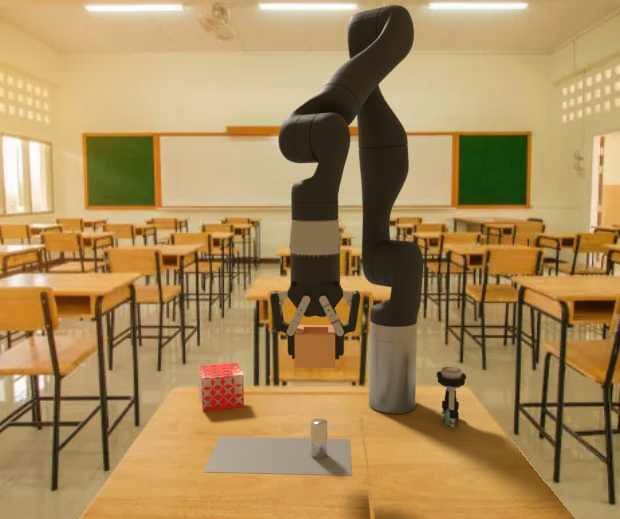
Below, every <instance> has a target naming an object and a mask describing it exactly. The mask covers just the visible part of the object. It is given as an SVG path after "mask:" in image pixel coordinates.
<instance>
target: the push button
mask: <svg viewBox="0 0 620 519" xmlns="http://www.w3.org/2000/svg"><path fill="white" fill-rule="evenodd" d="M436 377H437V383H439V385H441V386H442V387H443V388H445V394H444V400H442V401H441V408H442V411H441V421H443V419H444V422H445V425H446V426H448V427H450V428H456V427H457V422H459V419H460V417H459V416H460V415H459V409H460V403H459V401H458V400H457V389H459V388H461V387H462V386H464V385H466V382H465V381H466V380H467V375H466V374H465V373H463V372H462V369H461V368H460V367H455V366H443V367H442V368H441V370H440V371H438V372H436Z"/></svg>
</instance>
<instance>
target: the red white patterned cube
mask: <svg viewBox="0 0 620 519" xmlns="http://www.w3.org/2000/svg"><path fill="white" fill-rule="evenodd" d="M244 382H245V381H244V373H243V371H242V369H241V367H240V365H239V362H231V363H230V362H228V363H227V362H226V363H216V364H206V365H205V364H203V365H198V389H199V390H198V395H199V400H198V401H199V402H198V403H199V405H201V406H202V411H211V410H221V409H223V410H224V409H231V408H241V407H244V406H245V404H244V403H245V400H244V399H245V396H244V395H245V393H244V391H245V390H244V389H245V387H244Z"/></svg>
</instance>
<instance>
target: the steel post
mask: <svg viewBox="0 0 620 519" xmlns="http://www.w3.org/2000/svg"><path fill="white" fill-rule="evenodd" d="M310 438H311V457H312V458H314V459H324V458H326V457H327V439H328V420H327V419H325V418H324V419H323V418H314V419H313V418H312V420H310Z"/></svg>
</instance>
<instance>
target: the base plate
mask: <svg viewBox="0 0 620 519" xmlns="http://www.w3.org/2000/svg"><path fill="white" fill-rule="evenodd" d="M351 456H352V455H351V439H350V438H327V457H326V458H324V459H314V458H312V457H311V437H310V438H309V437H308V438H306V437H304V438H303V437H263V436H260V437H259V436H219V437H218V439H217V442H216V443H215V446H214V448H213V450H212V452H211V454H210V457H209V459H208V461H207V463H206V465H205V467H204V469H203V473H214V474H215V473H218V474H220V473H222V474H223V473H224V474H225V473H226V474H260V475H261V474H262V475H263V474H264V475H306V476H307V475H309V476H347V477H349V476H350V477H351V476H353V473H352V457H351Z"/></svg>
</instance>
